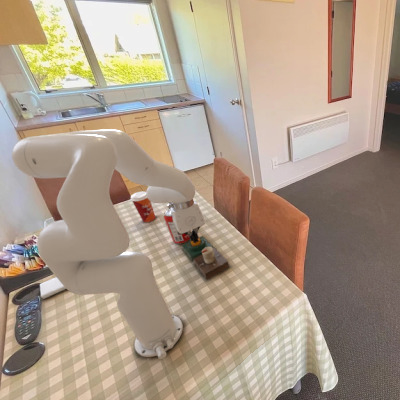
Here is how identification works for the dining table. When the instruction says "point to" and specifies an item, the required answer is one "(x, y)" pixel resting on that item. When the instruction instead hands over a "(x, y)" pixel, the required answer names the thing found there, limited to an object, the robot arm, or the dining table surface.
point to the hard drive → (51, 287)
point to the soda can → (174, 229)
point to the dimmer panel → (211, 265)
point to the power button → (196, 242)
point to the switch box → (196, 248)
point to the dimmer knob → (208, 255)
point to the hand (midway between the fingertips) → (195, 240)
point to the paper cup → (143, 206)
